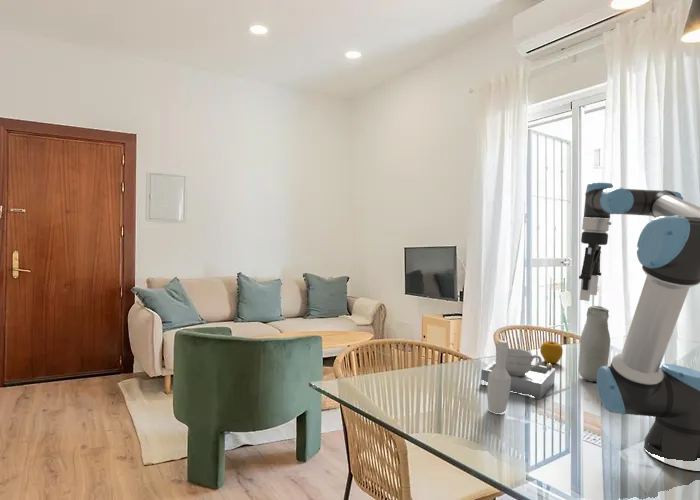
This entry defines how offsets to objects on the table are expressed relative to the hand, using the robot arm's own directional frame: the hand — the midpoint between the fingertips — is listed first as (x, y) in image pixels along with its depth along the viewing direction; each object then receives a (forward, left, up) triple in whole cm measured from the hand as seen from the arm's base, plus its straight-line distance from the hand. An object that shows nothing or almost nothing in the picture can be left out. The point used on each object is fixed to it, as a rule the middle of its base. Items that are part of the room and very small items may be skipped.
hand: (588, 297), depth 158 cm
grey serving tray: (+2, +20, -35) cm, 40 cm away
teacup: (+2, +20, -31) cm, 37 cm away
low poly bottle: (-27, +18, -35) cm, 48 cm away
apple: (+37, +17, -35) cm, 54 cm away
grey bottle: (+26, 0, -35) cm, 44 cm away
